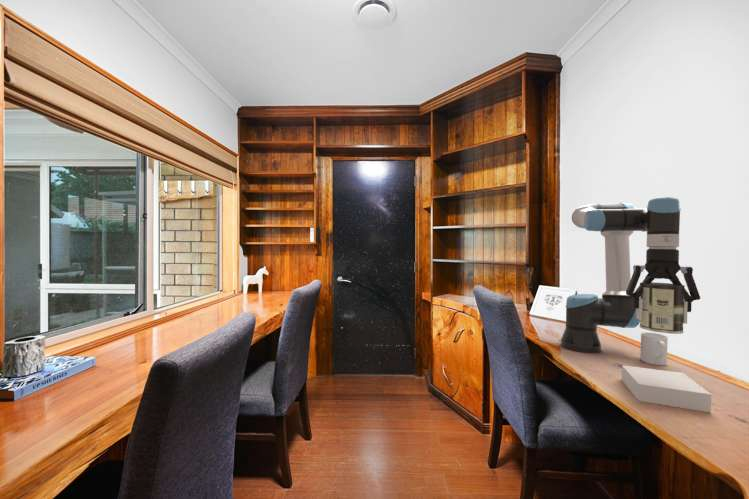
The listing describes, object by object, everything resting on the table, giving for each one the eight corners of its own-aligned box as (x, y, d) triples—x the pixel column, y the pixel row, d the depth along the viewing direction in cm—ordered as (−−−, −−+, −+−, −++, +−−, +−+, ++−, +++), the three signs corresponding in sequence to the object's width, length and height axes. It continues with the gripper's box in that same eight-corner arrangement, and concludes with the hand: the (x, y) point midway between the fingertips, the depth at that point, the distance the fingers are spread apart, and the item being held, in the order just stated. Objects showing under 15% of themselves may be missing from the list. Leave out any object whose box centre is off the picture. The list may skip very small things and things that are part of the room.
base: (621, 379, 110) (621, 365, 110) (682, 388, 104) (682, 373, 104) (638, 401, 95) (638, 384, 95) (710, 412, 89) (711, 394, 89)
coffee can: (668, 326, 104) (669, 282, 104) (692, 335, 94) (693, 286, 94) (631, 324, 106) (632, 281, 106) (651, 332, 96) (652, 285, 96)
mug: (637, 357, 133) (637, 331, 132) (661, 359, 130) (662, 333, 129) (649, 367, 121) (650, 339, 121) (676, 371, 118) (677, 342, 118)
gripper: (621, 247, 101) (619, 319, 101) (718, 249, 92) (716, 327, 92) (614, 247, 108) (613, 314, 108) (704, 249, 99) (702, 322, 99)
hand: (660, 320), depth 100 cm, fingers closed on coffee can, 10 cm apart
